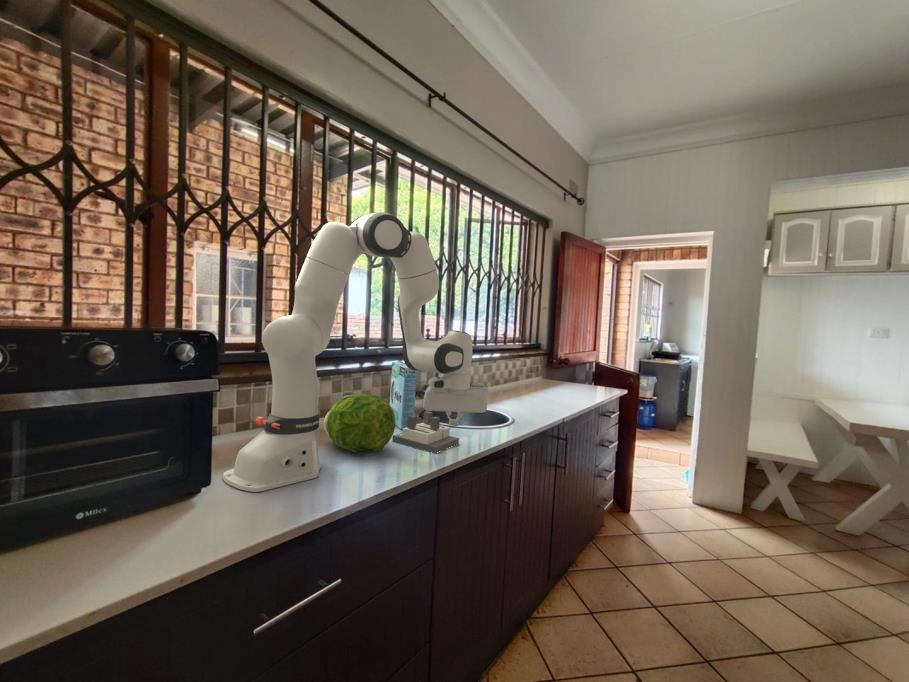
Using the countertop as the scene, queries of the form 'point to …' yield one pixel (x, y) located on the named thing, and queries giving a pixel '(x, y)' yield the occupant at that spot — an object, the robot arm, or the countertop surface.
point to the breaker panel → (427, 447)
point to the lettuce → (360, 423)
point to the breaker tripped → (435, 423)
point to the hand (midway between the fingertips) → (453, 425)
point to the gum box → (402, 393)
